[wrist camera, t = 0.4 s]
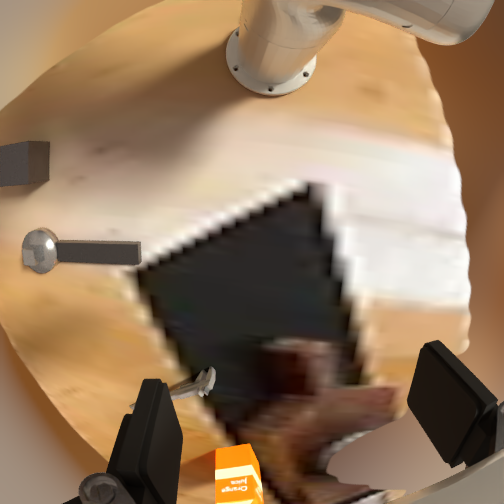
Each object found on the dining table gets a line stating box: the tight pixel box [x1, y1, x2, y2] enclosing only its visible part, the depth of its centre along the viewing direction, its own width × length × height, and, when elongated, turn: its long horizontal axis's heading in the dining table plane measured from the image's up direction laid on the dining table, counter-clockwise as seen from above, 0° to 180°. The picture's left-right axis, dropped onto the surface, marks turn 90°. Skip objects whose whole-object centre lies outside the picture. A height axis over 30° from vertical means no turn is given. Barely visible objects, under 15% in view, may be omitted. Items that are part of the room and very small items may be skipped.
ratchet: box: [22, 228, 141, 273], centre depth 41 cm, size 7×21×5 cm, turn 87°
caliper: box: [129, 366, 215, 410], centre depth 49 cm, size 20×1×6 cm, turn 122°
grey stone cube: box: [0, 141, 50, 187], centre depth 36 cm, size 6×6×6 cm
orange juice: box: [215, 444, 264, 504], centre depth 49 cm, size 8×9×20 cm
